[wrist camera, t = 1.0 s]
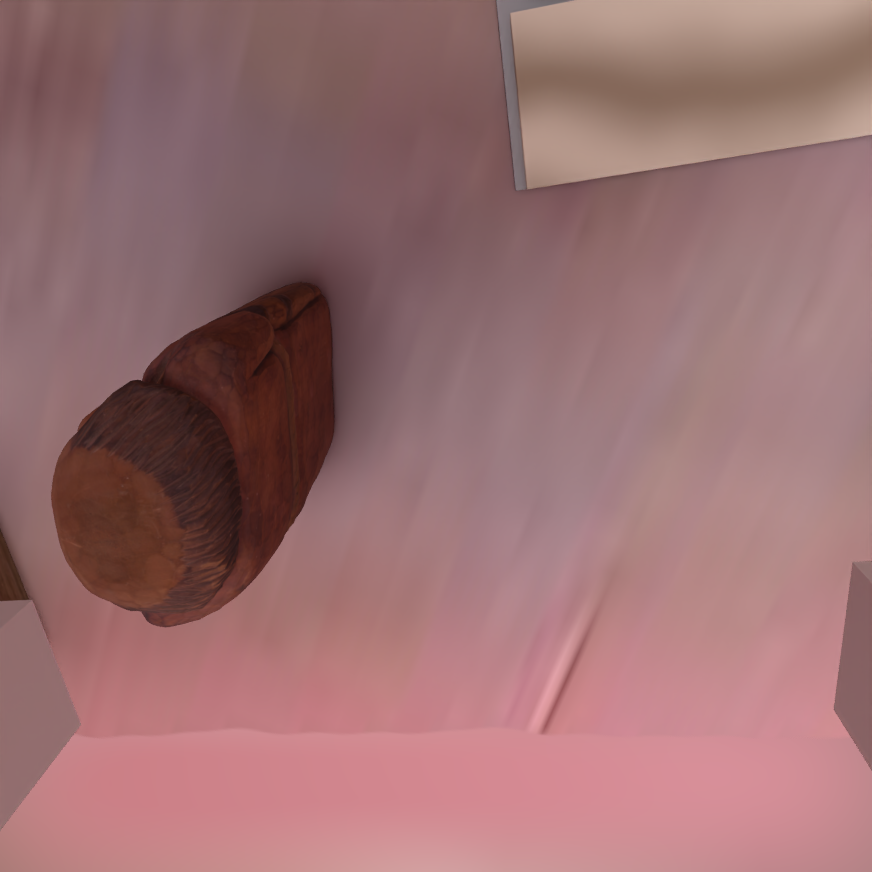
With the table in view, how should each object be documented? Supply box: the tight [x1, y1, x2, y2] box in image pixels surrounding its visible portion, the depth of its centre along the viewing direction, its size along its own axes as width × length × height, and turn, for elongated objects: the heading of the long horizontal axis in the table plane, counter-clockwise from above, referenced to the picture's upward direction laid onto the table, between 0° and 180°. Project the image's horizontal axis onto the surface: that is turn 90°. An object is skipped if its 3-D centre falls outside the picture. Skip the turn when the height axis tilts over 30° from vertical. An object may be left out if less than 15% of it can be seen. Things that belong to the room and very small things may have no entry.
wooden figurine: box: [51, 282, 334, 627], centre depth 28 cm, size 12×6×18 cm, turn 177°
